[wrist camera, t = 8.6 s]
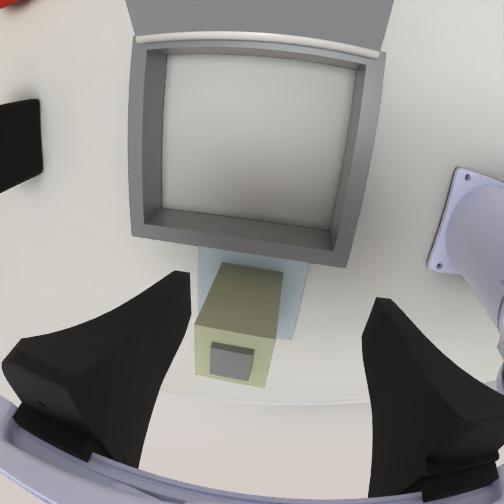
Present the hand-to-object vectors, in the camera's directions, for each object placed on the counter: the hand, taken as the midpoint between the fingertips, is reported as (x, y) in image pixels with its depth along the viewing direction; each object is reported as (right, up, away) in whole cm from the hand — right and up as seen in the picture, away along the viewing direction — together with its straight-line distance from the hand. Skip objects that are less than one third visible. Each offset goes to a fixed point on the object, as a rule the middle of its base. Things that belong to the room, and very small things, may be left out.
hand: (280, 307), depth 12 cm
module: (-1, -1, +12) cm, 12 cm away
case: (-1, +12, +6) cm, 13 cm away
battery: (-21, +12, +9) cm, 26 cm away
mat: (-1, -1, +12) cm, 13 cm away
